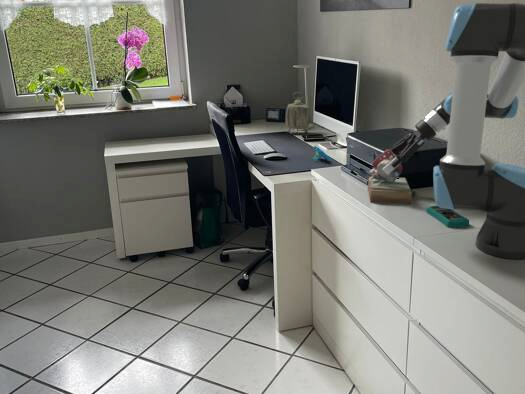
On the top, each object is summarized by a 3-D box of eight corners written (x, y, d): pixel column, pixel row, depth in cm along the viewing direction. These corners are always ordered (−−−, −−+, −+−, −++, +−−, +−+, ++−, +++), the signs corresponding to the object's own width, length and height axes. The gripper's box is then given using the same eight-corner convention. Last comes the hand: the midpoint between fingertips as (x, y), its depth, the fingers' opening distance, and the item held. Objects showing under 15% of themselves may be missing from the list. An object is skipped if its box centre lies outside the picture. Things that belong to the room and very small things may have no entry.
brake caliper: (408, 170, 187) (403, 149, 178) (398, 193, 182) (393, 172, 174) (379, 166, 193) (373, 145, 185) (368, 188, 188) (362, 168, 180)
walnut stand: (410, 204, 178) (412, 190, 176) (370, 202, 180) (371, 188, 178) (404, 189, 195) (405, 177, 193) (367, 187, 197) (368, 175, 195)
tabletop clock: (309, 132, 308) (310, 91, 301) (309, 135, 300) (310, 93, 292) (285, 132, 310) (286, 91, 302) (285, 135, 301) (285, 92, 293)
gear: (333, 160, 234) (319, 145, 232) (325, 169, 234) (310, 154, 232) (326, 157, 245) (312, 143, 242) (318, 166, 245) (304, 152, 242)
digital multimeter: (448, 229, 156) (449, 220, 155) (425, 213, 170) (426, 205, 169) (470, 228, 157) (471, 219, 156) (445, 212, 171) (446, 204, 170)
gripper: (446, 139, 168) (394, 184, 174) (428, 128, 190) (383, 167, 196) (431, 123, 167) (380, 168, 173) (416, 113, 189) (370, 154, 194)
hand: (382, 168), depth 184 cm, fingers closed on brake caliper, 10 cm apart
